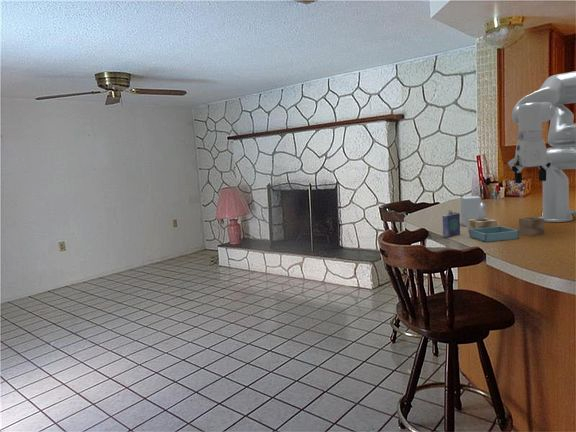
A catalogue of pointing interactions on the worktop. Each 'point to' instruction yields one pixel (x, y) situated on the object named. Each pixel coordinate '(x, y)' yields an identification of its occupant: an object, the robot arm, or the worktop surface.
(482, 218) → the steel pin
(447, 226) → the flask
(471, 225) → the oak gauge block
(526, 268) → the worktop surface
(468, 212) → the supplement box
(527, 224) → the walnut block
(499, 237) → the teal tray
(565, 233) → the worktop surface
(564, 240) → the worktop surface
